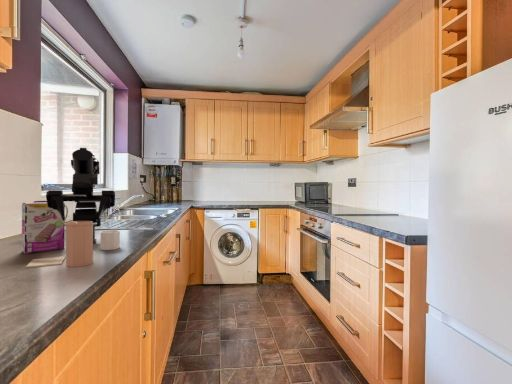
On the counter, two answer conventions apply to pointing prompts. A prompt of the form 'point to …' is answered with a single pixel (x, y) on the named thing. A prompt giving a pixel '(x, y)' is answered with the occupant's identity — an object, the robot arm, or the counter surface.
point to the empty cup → (110, 239)
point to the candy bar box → (41, 228)
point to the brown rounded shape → (79, 243)
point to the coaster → (46, 262)
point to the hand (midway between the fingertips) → (81, 219)
